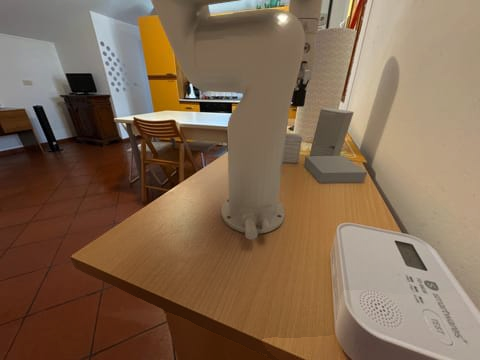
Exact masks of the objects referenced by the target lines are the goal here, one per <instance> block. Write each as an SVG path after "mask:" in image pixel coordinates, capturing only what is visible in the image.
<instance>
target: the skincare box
mask: <svg viewBox="0 0 480 360" xmlns="http://www.w3.org/2000/svg"><path fill="white" fill-rule="evenodd" d="M318 116H319V117H318V118H317V119H318V120H317V124H316V127H315V131H314V134H313V139H312V142H311V147H310V150H309V156H341V152H342V149H343V147H344V144H345V140H346V137H347V134H348V131H349V128H350V125H351V122H352V120H353V116H354V111H350V110H344V109H341V108H340V109H339V108H334V107H333V108H332V107H329V108H324V107H322V108H321V109H320V111H319V115H318Z"/></svg>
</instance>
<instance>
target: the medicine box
mask: <svg viewBox="0 0 480 360" xmlns="http://www.w3.org/2000/svg"><path fill="white" fill-rule="evenodd" d="M302 141H303V137H302V135H301V134H300V133H289V132H286V140H285V148H284V156H283V163H290V164H292V163H293V164H298V163H299V160H300V152H301V147H302Z"/></svg>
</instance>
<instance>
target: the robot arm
mask: <svg viewBox="0 0 480 360" xmlns="http://www.w3.org/2000/svg"><path fill="white" fill-rule="evenodd" d="M150 1H151V4H152V7H153V9H154V11H155V14H156V15H157V18H158V21H159V22H160V26H161V27H162V29H163V31H164V33H165V36H166V38H167V40H168V43H169V45H170V47H171V49H172V52H173V54H174V56H175V59H176V60H177V63H178V65H179V67H180V69H181V71H182V73H183V75H184V77H185V78H186V79H187V81H188V82H189V84H191V85H192V86H193V87H195V88H196V89H197V90H200V91H204V92H210V93H211V92H213V93H235V94H241V95H242V96H241V98H240V101H239V102H238V104H237V105H236V106H235V108H234V109H233V110H232V112H231V114H230V116H229V118H228V121H227V122H228V123H227V126H226V127H227V129H226V131H227V171H228V172H227V176H228V177H227V178H228V181H227V182H228V198H226V199H225V200H224V201H223V203H222V204H221V209H220V211H221V212H220V213H221V218H222V219H223V222H224V223H225V224H226V225H227V226H228V227H229V228H231V229H233V230H236V231H237V232H240V233H244V234H245V235H244V236H245V238H246V239H248V240H255V239H256V238H258V235H259V234H265V233H270V232H271V231H274V230H275V229H277V228H278V227H280V225H282V223H283V222H284V220H285V213H286V212H285V208H284V206H283V204H282V202H280V200H279V196H280V195H279V194H280V187H281V180H282V170H283V163H284V162H283V156H284V148H285V140H286V133H288V132H287V131H288V123H289V116H290V112H291V111H290V110H291V106H292V107H293V108H294V107H296V108H299V107H302V108H303V107H304V106H305V102H306V96H307V90H308V84H309V83H310V81H311V80H312V77H313V71H314V70H313V69H314V64H315V53H316V39H317V38H318V31H319V25H320V18H321V12H322V7H323V6H322V5H323V0H289V4H288V5H289V6H288V10H284V9H277V8H264V9H255V10H254V9H253V10H246V11H244V10H243V11H238V12H235V11H234V12H232V13H226V14H218V15H217V14H216V15H211V12H210V7H209V6H211V5H212V6H213V5H218V4H225V3H232V2H233V3H234V2H238V1H239V2H240V1H241V0H150Z"/></svg>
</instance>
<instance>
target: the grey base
mask: <svg viewBox="0 0 480 360" xmlns="http://www.w3.org/2000/svg"><path fill="white" fill-rule="evenodd" d="M303 166H304V167H305V168H306V169H307V171H308V172H310V174H311V175H312V176H313V177H314V178H315V180H316V181H317V182H318V183H319V184H341V183H343V184H348V183H349V184H350V183H352V184H354V183H355V184H356V183H365V180H366V177H367V175H368V171H366V169H363V168H362V167H360V166H359V165H357V164H356V163H355V162H353V161H351V160H350V159H349V158H347V157H345V156H344V155H340V156H312V155H306V156H305V157H304V163H303Z"/></svg>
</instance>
